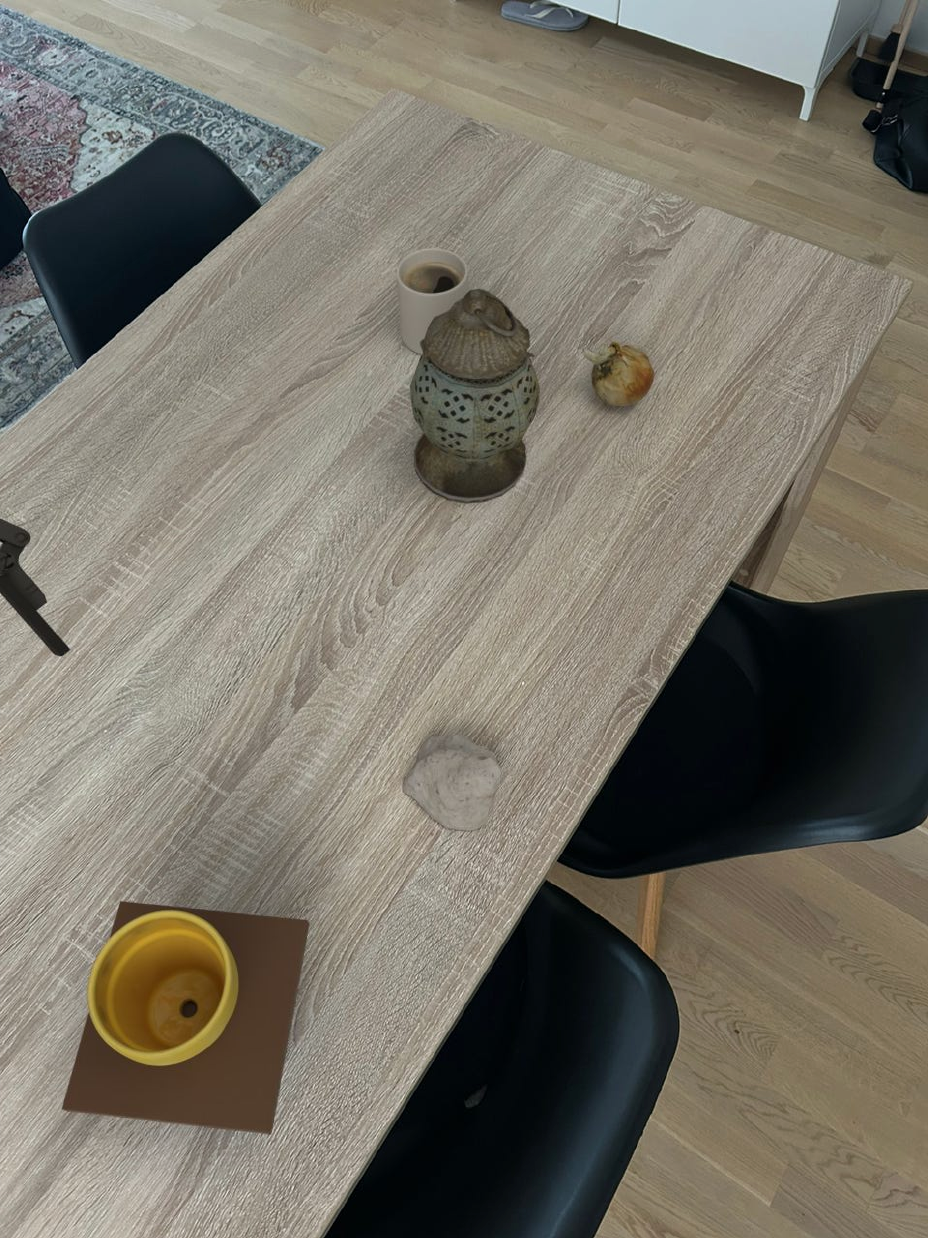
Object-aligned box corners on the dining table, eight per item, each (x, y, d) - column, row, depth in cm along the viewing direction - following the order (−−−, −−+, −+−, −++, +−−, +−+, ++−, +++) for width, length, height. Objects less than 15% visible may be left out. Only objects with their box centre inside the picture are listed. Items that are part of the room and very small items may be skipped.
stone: (393, 731, 103) (492, 714, 101) (407, 751, 107) (502, 734, 105) (396, 825, 97) (500, 809, 96) (411, 843, 101) (511, 827, 99)
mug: (445, 366, 133) (443, 304, 124) (383, 339, 136) (377, 277, 127) (489, 316, 138) (489, 253, 129) (428, 291, 141) (425, 228, 132)
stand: (98, 1124, 86) (61, 1109, 79) (149, 931, 95) (119, 901, 87) (287, 1146, 85) (268, 1133, 78) (321, 949, 94) (307, 919, 86)
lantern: (439, 403, 130) (432, 232, 108) (548, 433, 127) (562, 264, 106) (396, 485, 123) (379, 320, 101) (509, 518, 120) (517, 356, 99)
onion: (613, 427, 127) (620, 379, 120) (574, 387, 131) (580, 339, 124) (662, 402, 129) (672, 354, 122) (623, 364, 133) (630, 315, 126)
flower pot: (273, 960, 84) (251, 926, 76) (229, 1096, 79) (201, 1075, 71) (154, 931, 86) (119, 895, 77) (103, 1062, 80) (60, 1038, 72)
